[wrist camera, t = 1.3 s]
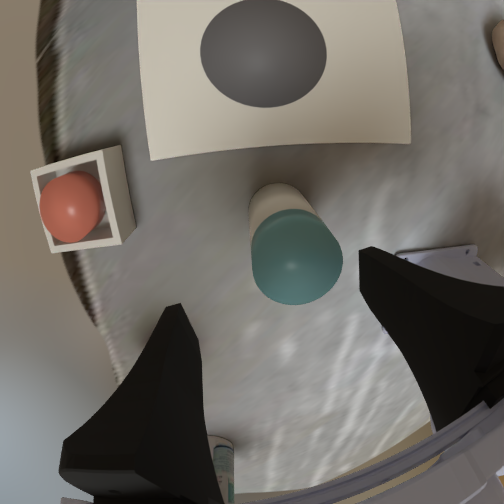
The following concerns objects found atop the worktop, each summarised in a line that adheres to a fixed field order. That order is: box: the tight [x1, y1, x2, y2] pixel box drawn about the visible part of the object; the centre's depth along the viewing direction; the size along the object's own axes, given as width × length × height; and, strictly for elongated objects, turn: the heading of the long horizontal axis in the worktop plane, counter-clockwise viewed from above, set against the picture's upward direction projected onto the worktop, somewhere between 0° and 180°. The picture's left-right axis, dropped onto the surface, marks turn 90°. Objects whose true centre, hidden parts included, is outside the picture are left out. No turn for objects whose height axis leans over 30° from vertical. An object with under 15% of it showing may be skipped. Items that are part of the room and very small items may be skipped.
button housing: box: [30, 145, 137, 253], centre depth 18 cm, size 6×6×3 cm
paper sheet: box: [137, 0, 411, 161], centre depth 15 cm, size 18×13×1 cm
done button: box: [39, 171, 106, 243], centre depth 16 cm, size 4×4×2 cm
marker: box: [248, 183, 343, 305], centre depth 17 cm, size 4×4×8 cm
